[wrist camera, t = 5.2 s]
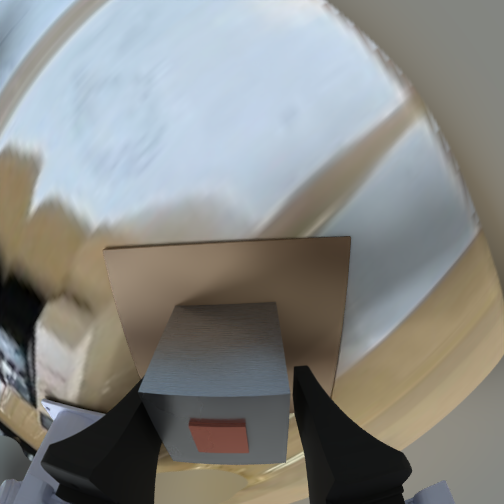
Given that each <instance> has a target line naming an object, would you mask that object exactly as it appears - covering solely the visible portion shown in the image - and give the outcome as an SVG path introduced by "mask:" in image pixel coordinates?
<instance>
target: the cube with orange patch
mask: <svg viewBox="0 0 504 504" xmlns="http://www.w3.org/2000/svg"><path fill="white" fill-rule="evenodd" d="M138 393H139V395H140V398H141V400H142V402H143V404H144V406H145V408H146V411H147V413H148V415H149V417H150V419H151V421H152V423H153V425H154V427H155V429H156V431H157V433H158V434H159V436H160V438H161V440H162V442H163V444H164V445H165V447H166V449H167V451H168V453H169V454H170V456H171V458H172V460H173V461H179V462H189V463H203V464H228V465H247V464H272V463H286V454H287V441H288V427H289V411H290V387H289V381H288V374H287V368H286V361H285V355H284V349H283V342H282V336H281V330H280V324H279V317H278V311H277V305H276V302H265V303H245V304H220V305H180V306H175V307H174V309H173V311H172V314H171V316H170V318H169V320H168V323H167V325H166V327H165V329H164V332H163V334H162V336H161V338H160V341H159V343H158V345H157V348H156V350H155V352H154V355H153V357H152V359H151V362H150V364H149V366H148V369H147V371H146V374H145V376H144V378H143V381H142V383H141V386H140V388H139V391H138Z"/></svg>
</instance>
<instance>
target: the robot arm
mask: <svg viewBox="0 0 504 504" xmlns="http://www.w3.org/2000/svg"><path fill="white" fill-rule="evenodd" d="M144 376H145V375H144ZM143 378H144V377H143ZM143 378H142V379H141V380H140V381H139V382H138V383H137V384H136V386H135V387H134V388H133V389H132V390H131V391H130V392H129V393H128V394H127V395H126V396H125V397H124V398H123V399H122V400H121V401H120V402H119V403H118V404H117V405H116V406H115V407H114V408H113V409H112V410H111V411H109V412H108V413H107V414H104V413H99V412H94V411H89V410H85V409H81V408H76V407H72V406H69V405H65V404H61V403H58V402H54V401H51V400H47V399H42V401H41V403H42V404H43V406H44V407H45V409H46V410H47V412H48V413H49V415H50V416H51V417H52V419H53V420H54V421H53V423H52V425H51V427H50V428H49V430H48V432H47V434H46V436H45V438H44V439H43V441H42V443H41V445H40V447H39V449H38V451H37V453H36V455H35V457H34V459H33V461H32V463H31V465H30V467H29V469H28V471H27V473H26V475H25V478H24V480H23V481H19V482H18V481H16V480H15V479H12V480H5V481H4V482H3V483H2V485H1V487H0V504H154V491H155V478H156V469H157V461H158V455H159V451H160V447H161V443H162V440H161V438H160V436H159V434H158V433H157V431H156V429H155V427H154V425H153V423H152V421H151V419H150V417H149V415H148V413H147V411H146V408H145V406H144V404H143V402H142V400H141V398H140V395H139V393H138V391H139V388H140V386H141V383H142V381H143ZM292 396H293V405H294V413H295V417H296V421H297V425H298V430H299V434H300V438H301V442H302V446H303V450H304V455H305V461H306V470H307V478H308V488H309V499H310V504H455V502H454V499H453V497H452V495H451V492H450V490H449V488H448V486H447V483H446V481H445V480H443V481H441V482H438V483H436V484H434V485H432V486H429V487H427V488H425V489H423V490H421V491H419V492H418V493H417V494H415V496H414V497H413V498H411V499H408V500H405V501H404V498H403V496H402V493H403V492H404V489H403V486H402V484H403V483H404V482H405V481H406V480H407V479H408V477H409V476H410V474H411V473H412V468H411V466H410V463H409V461H408V460H407V458H406V457H405V455H404V454H403V453H402V452H400V451H398V450H396V449H394V448H392V447H390V446H388V445H386V444H384V443H383V442H381V441H379V440H378V439H376V438H375V437H373V436H372V435H370V434H369V433H367V432H366V431H365V430H363V429H362V428H361V427H359V426H358V425H357V424H356V423H355V422H353V421H352V420H351V419H350V418H349V417H348V416H347V415H346V414H345V413H344V412H343V411H342V410H341V409H340V408H339V407H338V406H337V405H336V404H335V403H334V401H333V400H332V399H331V398H330V397H329V395H328V394H327V393H326V392H325V390H324V389H323V388H322V386H321V385H320V384H319V382H318V381H317V379H316V378H315V376H314V374H313V373H312V371H311V369H310V368H309V366H307V365H304V366H294V375H293V393H292Z"/></svg>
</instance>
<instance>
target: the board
mask: <svg viewBox="0 0 504 504" xmlns="http://www.w3.org/2000/svg"><path fill="white" fill-rule="evenodd" d="M350 245H351V237H350V236H344V237H319V238H296V239H274V240H253V241H233V242H214V243H196V244H178V245H161V246H144V247H128V248H112V249H104V250H103V254H104V259H105V264H106V268H107V272H108V277H109V281H110V285H111V289H112V293H113V296H114V300H115V304H116V307H117V311H118V314H119V318H120V321H121V324H122V328H123V331H124V334H125V337H126V340H127V343H128V346H129V349H130V352H131V355H132V358H133V360H134V363H135V366H136V369H137V371H138V374H139V376H140V379H142V378H143V377H144V375H145V374H146V371H147V369H148V366H149V364H150V362H151V359H152V357H153V355H154V352H155V350H156V348H157V345H158V343H159V341H160V338H161V336H162V334H163V332H164V329H165V327H166V325H167V323H168V320H169V318H170V316H171V314H172V311H173V309H174V307H175V306H180V305H220V304H245V303H265V302H276V305H277V311H278V317H279V324H280V330H281V336H282V342H283V349H284V355H285V361H286V368H287V374H288V381H289V387H290V411H289V413H294V405H293V396H292V393H293V375H294V366H304V365H307V366H309V368H310V369H311V371H312V373H313V374H314V376H315V378H316V379H317V381H318V382H319V384H320V385H321V386H322V388H323V389H324V390H325V392H326V393H327V394H328V395H329V397H331V392H332V387H333V382H334V376H335V371H336V365H337V359H338V353H339V347H340V340H341V333H342V326H343V318H344V310H345V302H346V293H347V283H348V272H349V259H350Z"/></svg>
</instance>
